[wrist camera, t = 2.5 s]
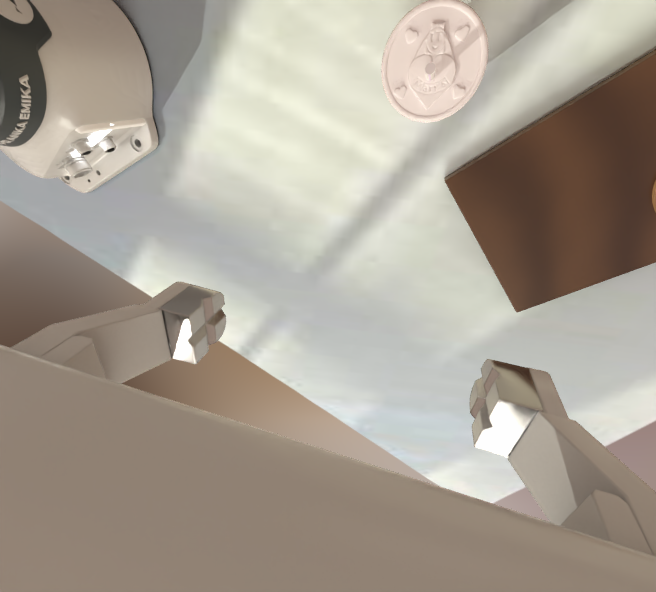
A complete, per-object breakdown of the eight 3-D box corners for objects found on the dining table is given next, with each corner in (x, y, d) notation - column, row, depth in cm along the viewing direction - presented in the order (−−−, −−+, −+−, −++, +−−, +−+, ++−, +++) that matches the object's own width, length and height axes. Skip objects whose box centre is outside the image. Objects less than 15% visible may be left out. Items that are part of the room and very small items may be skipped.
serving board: (513, 305, 36) (517, 314, 35) (444, 178, 32) (444, 181, 30) (811, 194, 26) (836, 200, 24) (765, -18, 21) (792, -28, 20)
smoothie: (391, 118, 31) (365, 124, 19) (399, 31, 28) (373, -26, 16) (464, 119, 29) (484, 127, 18) (481, 27, 26) (520, -38, 14)
